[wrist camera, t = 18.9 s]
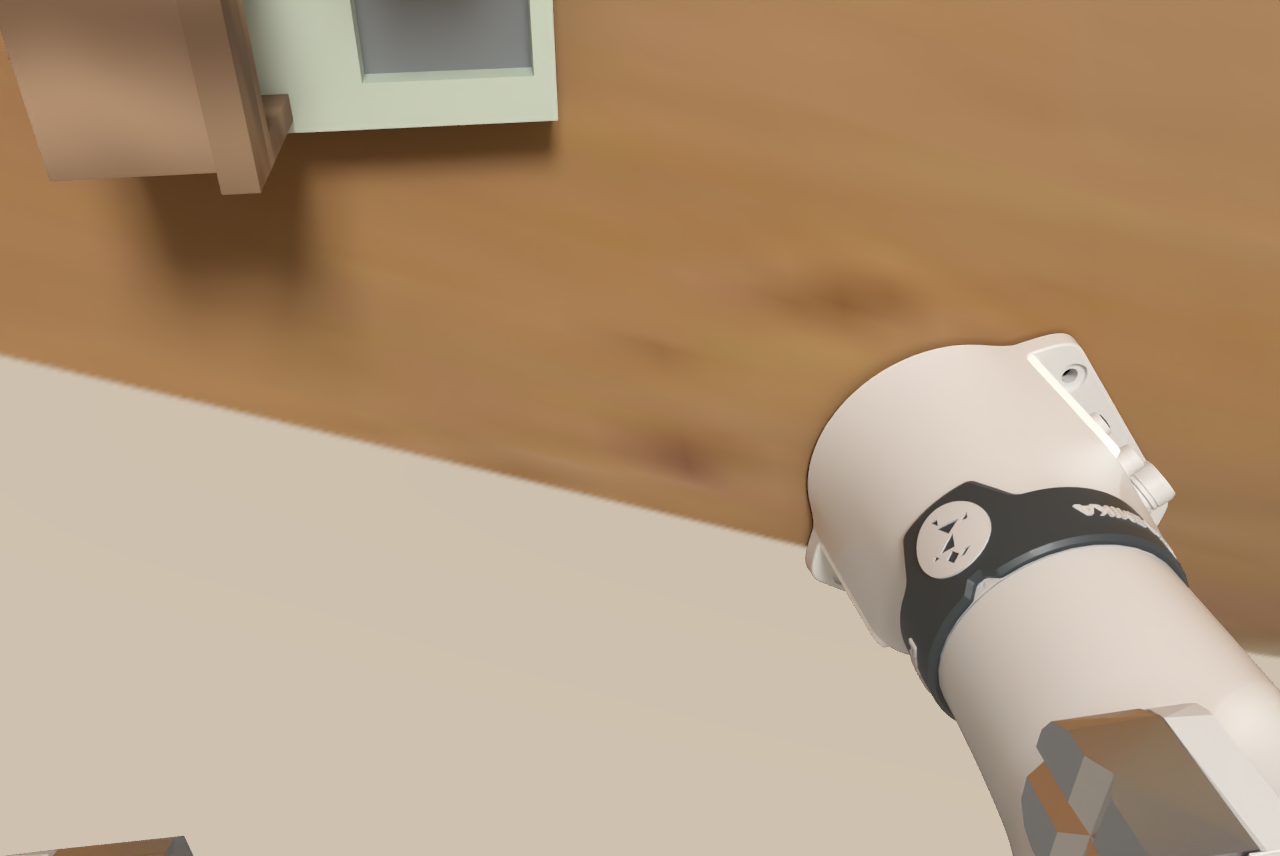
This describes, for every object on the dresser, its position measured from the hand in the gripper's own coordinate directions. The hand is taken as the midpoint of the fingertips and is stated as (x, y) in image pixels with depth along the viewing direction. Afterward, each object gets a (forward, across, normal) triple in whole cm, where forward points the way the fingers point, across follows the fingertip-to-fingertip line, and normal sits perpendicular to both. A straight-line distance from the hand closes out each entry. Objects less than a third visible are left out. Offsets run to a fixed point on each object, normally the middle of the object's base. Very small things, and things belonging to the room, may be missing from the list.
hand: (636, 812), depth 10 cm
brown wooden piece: (+35, +12, -1) cm, 36 cm away
